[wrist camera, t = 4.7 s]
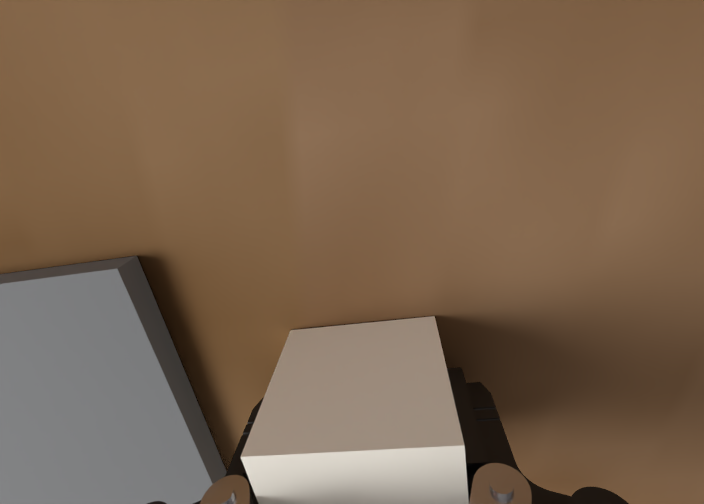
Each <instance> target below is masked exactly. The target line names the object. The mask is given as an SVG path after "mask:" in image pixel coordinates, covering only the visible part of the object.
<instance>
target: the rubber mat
mask: <svg viewBox="0 0 704 504" xmlns="http://www.w3.org/2000/svg"><path fill="white" fill-rule="evenodd" d="M226 473H227V471H226V469H225V467H224V464H223V462H222V459H221V457H220V455H219V452H218V450H217V447H216V445H215V443H214V440H213V438H212V435H211V433H210V431H209V428H208V426H207V423H206V421H205V418H204V416H203V414H202V411H201V409H200V406H199V404H198V402H197V399H196V397H195V394H194V392H193V390H192V387H191V385H190V382H189V380H188V378H187V375H186V373H185V370H184V368H183V366H182V363H181V361H180V358H179V356H178V353H177V351H176V349H175V346H174V344H173V341H172V339H171V337H170V334H169V332H168V329H167V327H166V325H165V322H164V320H163V317H162V315H161V313H160V310H159V308H158V305H157V303H156V300H155V298H154V296H153V293H152V291H151V288H150V286H149V284H148V281H147V279H146V276H145V274H144V272H143V269H142V267H141V264H140V262H139V260H138V257H137V256H132V257H125V258H117V259H110V260H102V261H95V262H88V263H80V264H73V265H65V266H58V267H51V268H43V269H36V270H28V271H21V272H13V273H6V274H0V504H147V503H150V502H154V501H162V502H165V503H166V504H193V503H196V502H198V501H200V500H201V499H202V497H203V495H204V494H205V492H206V491H207V490H208V489H209V487H210V486H211V485H213V484H214V483H215V482H216V481H218V480H219V479H221V478H223V477H225V475H226Z"/></svg>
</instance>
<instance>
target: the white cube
mask: <svg viewBox="0 0 704 504" xmlns="http://www.w3.org/2000/svg"><path fill="white" fill-rule="evenodd" d="M241 460H242V462H243V465H244V468H245V470H246V473H247V475H248V478H249V480H250V483H251V486H252V488H253V491H254V493H255V496H256V499H257V501H258V504H469V499H468V485H467V472H466V458H465V445H464V441H463V436H462V432H461V428H460V423H459V419H458V415H457V410H456V406H455V402H454V398H453V393H452V389H451V385H450V380H449V376H448V372H447V367H446V363H445V359H444V354H443V350H442V346H441V341H440V337H439V333H438V328H437V324H436V320H435V316H431V317H421V318H411V319H400V320H390V321H380V322H370V323H360V324H349V325H339V326H329V327H319V328H309V329H298V330H290V333H289V335H288V338H287V340H286V343H285V345H284V348H283V351H282V353H281V356H280V358H279V361H278V363H277V366H276V368H275V371H274V373H273V376H272V378H271V381H270V383H269V386H268V388H267V391H266V394H265V396H264V399H263V401H262V404H261V406H260V409H259V411H258V414H257V416H256V419H255V421H254V424H253V426H252V429H251V431H250V434H249V437H248V439H247V442H246V444H245V447H244V449H243V452H242V454H241Z"/></svg>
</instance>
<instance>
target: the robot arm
mask: <svg viewBox="0 0 704 504" xmlns="http://www.w3.org/2000/svg"><path fill="white" fill-rule="evenodd" d="M447 372H448V376H449V380H450V385H451V389H452V393H453V398H454V402H455V406H456V410H457V415H458V419H459V423H460V428H461V432H462V436H463V441H464V445H465V458H466V472H467V485H468V499H469V504H628V503H627V502H626V501H625V500H624V499H622V498H621V497H619V496H618V495H616V494H614V493H613V492H611V491H608V490H606V489H602V488H598V487H584V488H581V489H579V490H577V491H576V492H575V493H574V494H573V495H572V497H571V496H567V495H563V494H560V493H556V492H552V491H549V490H546V489H543V488H541V487H539V486H537V485H535V484H534V483H532V482H531V481H529V480H528V479H527V478H526V477H525V476H524V475H523V474H522V473H521V471H520V470H519V468H518V467H517V465H516V462H515V460H514V457H513V454H512V451H511V448H510V446H509V443H508V440H507V437H506V435H505V432H504V429H503V426H502V423H501V421H500V418H499V415H498V412H497V409H496V407H495V404H494V401H493V398H492V396H491V393H490V392H489V391H488V390H487V389H486V388H485V387H484V386H483V385H482V384H481V383H480V382H475V383H466V382H465V378H464V375H463V371H462V368H461V367H459V368H447ZM263 399H264V398H262V400H261V401H260V402H259V403H258V404H257V405H256V406H255V407H254V409H253V410H252V413H251V415H250V417H249V420H248V424H247V425H246V427H245V429H244V432H243V436H242V437H241V439H240V441H239V444H238V446H237V449H236V451H235V454H234V456H233V458H232V461H231V463H230V466H229V468H228V470H227V473H226V475H225V477H223V478H221V479H219V480H218V481H216V482H215V483H214V484H213V485H211V486H210V487H209V489H208V490H207V491H206V492H205V494H204V495H203V497H202V499H201V500H200V501H198V502H196V503H193V504H258V501H257V499H256V496H255V493H254V491H253V488H252V486H251V483H250V480H249V478H248V475H247V473H246V470H245V468H244V465H243V462H242V460H241V454H242V452H243V449H244V447H245V444H246V442H247V439H248V437H249V434H250V431H251V429H252V426H253V424H254V421H255V419H256V416H257V414H258V411H259V409H260V406H261V404H262V401H263ZM147 504H166V503H165V502H162V501H154V502H150V503H147Z"/></svg>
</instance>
